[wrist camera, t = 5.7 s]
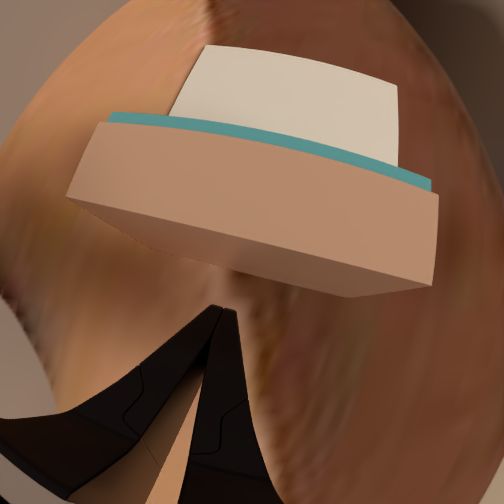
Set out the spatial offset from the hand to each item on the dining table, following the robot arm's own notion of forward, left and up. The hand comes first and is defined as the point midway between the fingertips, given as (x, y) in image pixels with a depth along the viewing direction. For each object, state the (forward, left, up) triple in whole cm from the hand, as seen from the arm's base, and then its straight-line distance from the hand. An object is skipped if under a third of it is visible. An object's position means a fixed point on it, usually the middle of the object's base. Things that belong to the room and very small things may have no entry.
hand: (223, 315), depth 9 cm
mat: (+5, +12, -7) cm, 15 cm away
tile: (+1, +3, -7) cm, 8 cm away
